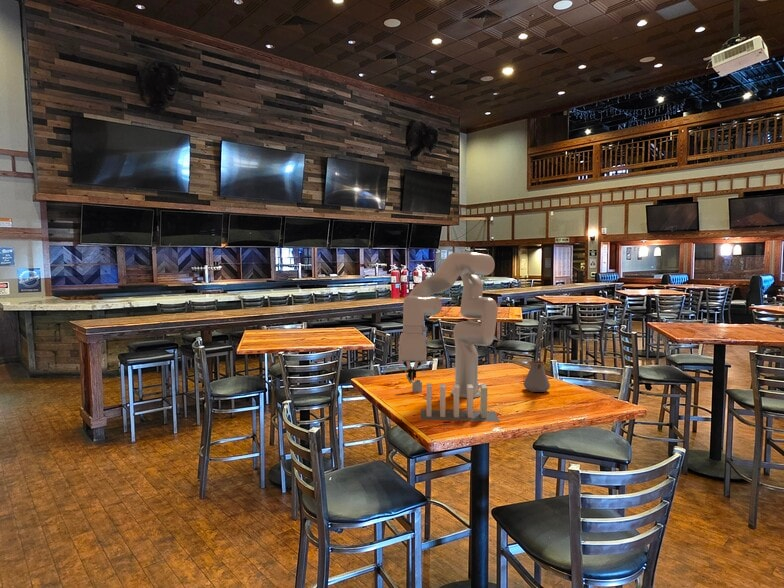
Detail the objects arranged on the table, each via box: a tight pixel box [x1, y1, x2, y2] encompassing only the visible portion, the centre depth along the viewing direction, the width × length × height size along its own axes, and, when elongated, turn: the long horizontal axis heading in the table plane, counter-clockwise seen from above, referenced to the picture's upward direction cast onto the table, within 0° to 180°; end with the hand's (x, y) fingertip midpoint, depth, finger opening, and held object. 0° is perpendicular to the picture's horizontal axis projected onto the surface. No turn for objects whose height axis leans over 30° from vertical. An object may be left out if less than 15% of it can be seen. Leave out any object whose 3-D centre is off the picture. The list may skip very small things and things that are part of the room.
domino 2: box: [439, 383, 447, 417], centre depth 175 cm, size 2×5×11 cm, turn 176°
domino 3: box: [452, 383, 460, 417], centre depth 175 cm, size 2×5×11 cm, turn 176°
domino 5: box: [479, 384, 488, 418], centre depth 174 cm, size 2×5×11 cm, turn 176°
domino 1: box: [425, 383, 433, 417], centre depth 176 cm, size 2×5×11 cm, turn 176°
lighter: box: [405, 373, 423, 393], centre depth 209 cm, size 7×2×8 cm, turn 91°
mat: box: [420, 408, 501, 423], centre depth 175 cm, size 28×12×1 cm, turn 86°
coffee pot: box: [523, 360, 551, 393], centre depth 207 cm, size 21×12×15 cm, turn 167°
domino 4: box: [466, 384, 474, 418], centre depth 174 cm, size 2×5×11 cm, turn 176°
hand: (411, 379), depth 175 cm, fingers closed
